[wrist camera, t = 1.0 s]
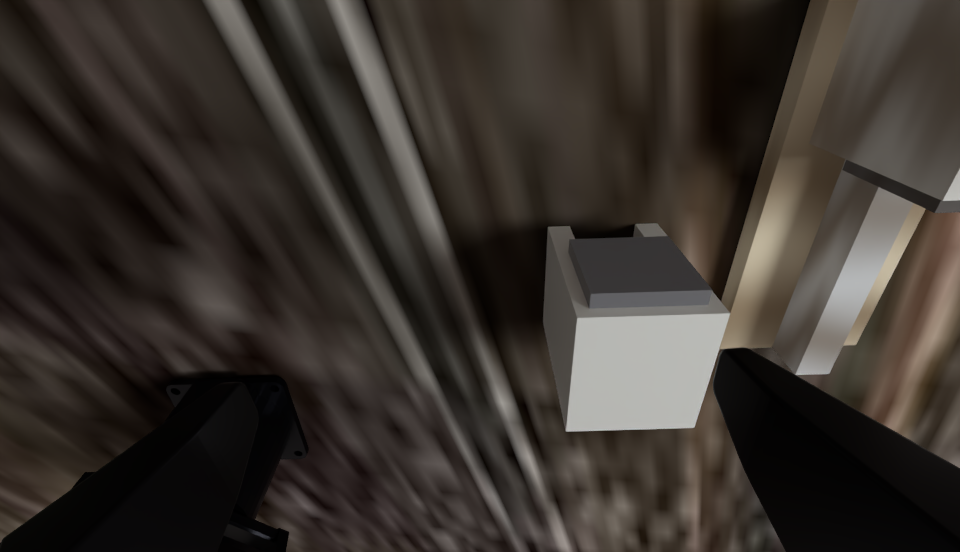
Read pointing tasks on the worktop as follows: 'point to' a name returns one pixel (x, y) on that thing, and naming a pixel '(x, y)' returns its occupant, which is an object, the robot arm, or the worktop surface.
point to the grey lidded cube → (628, 330)
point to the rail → (794, 197)
